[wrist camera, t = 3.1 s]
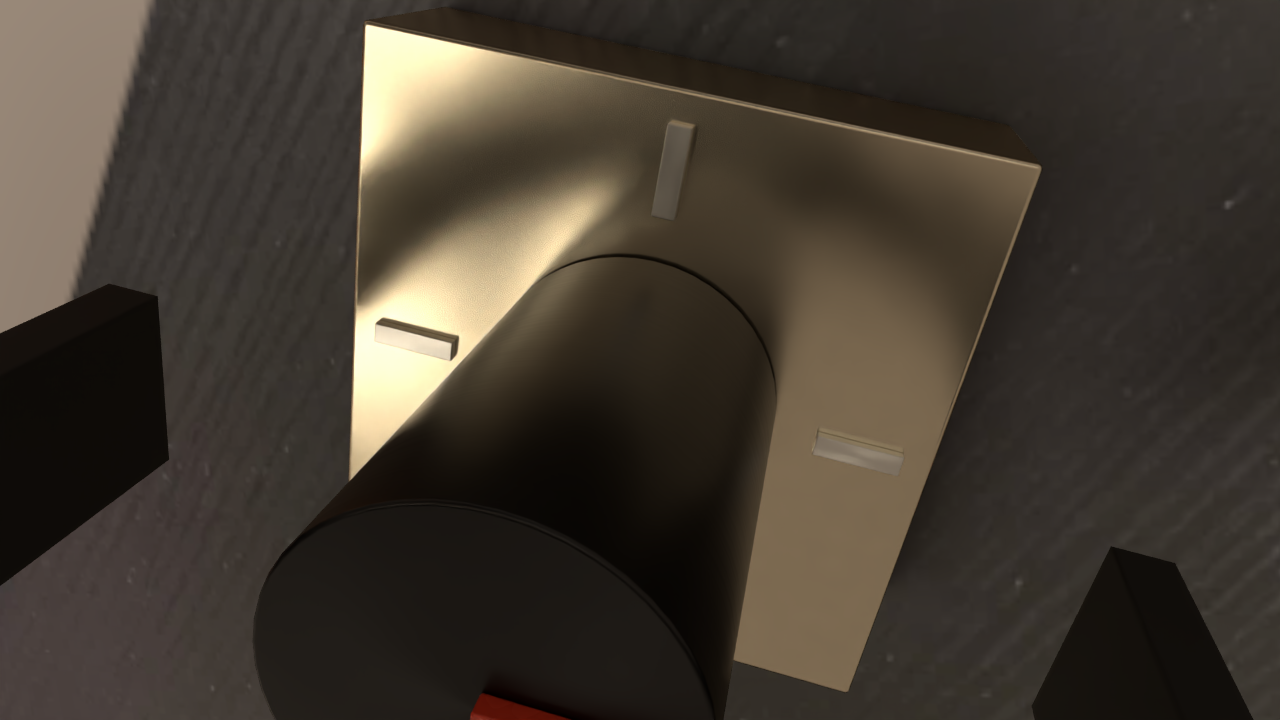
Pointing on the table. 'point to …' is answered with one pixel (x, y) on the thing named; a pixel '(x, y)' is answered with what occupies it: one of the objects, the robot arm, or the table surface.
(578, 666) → the knob
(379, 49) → the panel
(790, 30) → the table surface
